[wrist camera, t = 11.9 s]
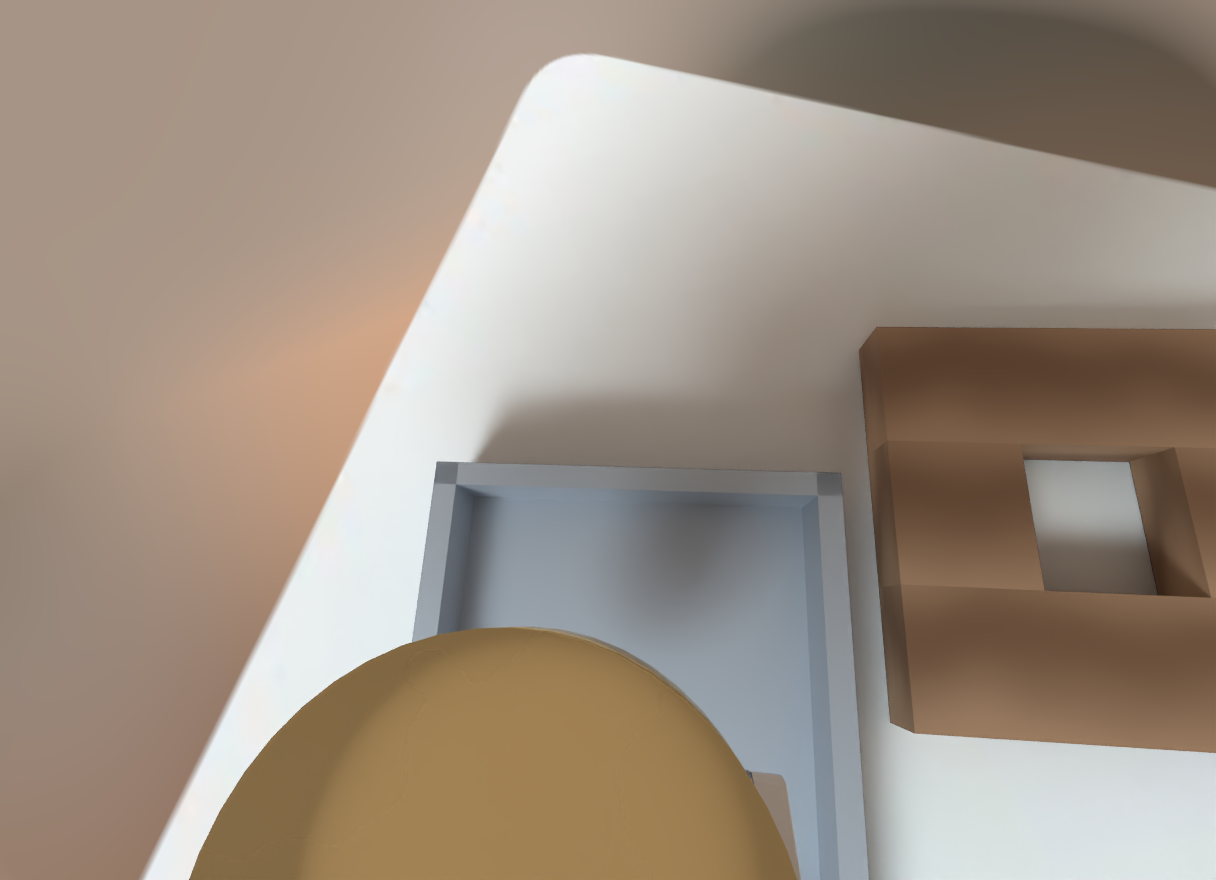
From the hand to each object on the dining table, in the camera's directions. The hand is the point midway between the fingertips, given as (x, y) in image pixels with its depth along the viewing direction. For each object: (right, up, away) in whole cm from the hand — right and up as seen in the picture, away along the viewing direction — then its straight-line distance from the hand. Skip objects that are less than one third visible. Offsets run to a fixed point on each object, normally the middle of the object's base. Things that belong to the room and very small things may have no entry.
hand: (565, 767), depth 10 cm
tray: (+1, -4, +11) cm, 12 cm away
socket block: (+18, +2, +12) cm, 21 cm away
